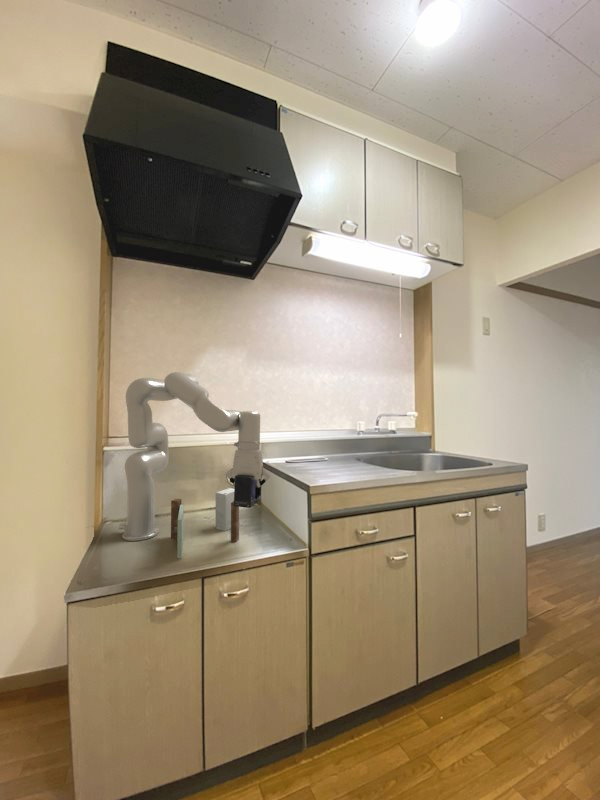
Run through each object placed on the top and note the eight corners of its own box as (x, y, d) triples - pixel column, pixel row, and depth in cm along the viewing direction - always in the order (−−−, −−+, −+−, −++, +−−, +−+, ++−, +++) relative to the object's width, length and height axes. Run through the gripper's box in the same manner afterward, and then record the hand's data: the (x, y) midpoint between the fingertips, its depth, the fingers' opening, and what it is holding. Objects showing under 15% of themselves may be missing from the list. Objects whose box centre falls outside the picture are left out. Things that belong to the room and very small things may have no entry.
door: (176, 536, 122) (176, 504, 122) (183, 535, 123) (183, 503, 123) (172, 558, 104) (172, 520, 104) (181, 557, 105) (181, 519, 105)
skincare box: (229, 522, 138) (229, 487, 139) (240, 525, 135) (240, 489, 136) (214, 528, 131) (214, 491, 132) (225, 531, 128) (225, 493, 129)
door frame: (170, 539, 121) (171, 500, 121) (174, 536, 124) (175, 498, 124) (236, 542, 118) (236, 503, 118) (238, 539, 121) (238, 500, 121)
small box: (251, 508, 109) (251, 477, 110) (232, 507, 111) (233, 475, 111) (261, 500, 120) (261, 471, 120) (244, 498, 121) (245, 470, 121)
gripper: (221, 446, 113) (220, 498, 113) (270, 448, 111) (269, 501, 110) (228, 444, 121) (227, 493, 120) (275, 446, 118) (273, 495, 118)
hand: (247, 496), depth 115 cm, fingers closed on small box, 6 cm apart
